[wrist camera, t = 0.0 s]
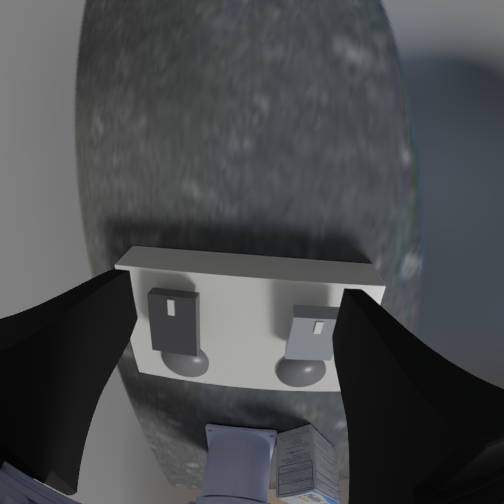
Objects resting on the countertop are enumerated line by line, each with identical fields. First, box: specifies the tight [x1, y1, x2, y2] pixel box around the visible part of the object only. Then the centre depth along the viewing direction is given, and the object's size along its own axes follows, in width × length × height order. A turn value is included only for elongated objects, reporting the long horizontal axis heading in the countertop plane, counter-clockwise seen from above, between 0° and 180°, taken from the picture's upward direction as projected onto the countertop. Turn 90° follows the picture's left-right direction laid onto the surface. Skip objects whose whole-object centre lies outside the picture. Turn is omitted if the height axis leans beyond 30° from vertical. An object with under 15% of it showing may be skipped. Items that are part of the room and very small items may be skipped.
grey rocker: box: [285, 305, 340, 361], centre depth 17 cm, size 4×3×1 cm
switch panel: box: [115, 246, 386, 391], centre depth 21 cm, size 10×17×3 cm, turn 87°
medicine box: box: [276, 424, 341, 504], centre depth 26 cm, size 8×4×9 cm, turn 32°
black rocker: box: [147, 287, 200, 357], centre depth 18 cm, size 4×3×1 cm
